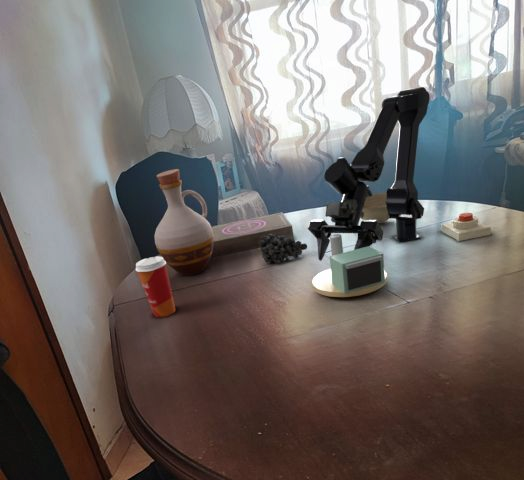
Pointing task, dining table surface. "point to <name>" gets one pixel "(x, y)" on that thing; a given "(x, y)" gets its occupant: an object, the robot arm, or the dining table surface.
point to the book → (248, 233)
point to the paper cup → (156, 285)
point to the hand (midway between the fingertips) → (335, 261)
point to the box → (466, 229)
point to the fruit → (279, 248)
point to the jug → (183, 229)
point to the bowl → (375, 208)
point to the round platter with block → (351, 271)
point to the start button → (465, 217)
